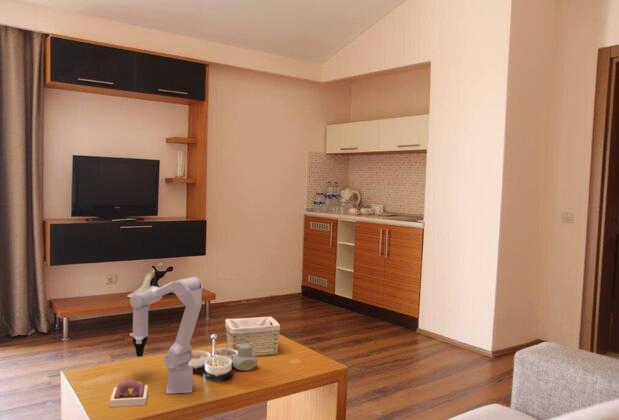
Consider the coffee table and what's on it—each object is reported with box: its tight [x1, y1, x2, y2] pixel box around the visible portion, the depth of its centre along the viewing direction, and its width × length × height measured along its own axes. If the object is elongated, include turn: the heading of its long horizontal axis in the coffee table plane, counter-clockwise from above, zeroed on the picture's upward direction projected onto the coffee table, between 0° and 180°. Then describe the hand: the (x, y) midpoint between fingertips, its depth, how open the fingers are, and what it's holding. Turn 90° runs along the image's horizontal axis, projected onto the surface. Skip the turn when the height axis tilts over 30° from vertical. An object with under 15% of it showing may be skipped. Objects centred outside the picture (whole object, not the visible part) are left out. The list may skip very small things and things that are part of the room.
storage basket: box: [224, 316, 281, 357], centre depth 248 cm, size 24×16×15 cm
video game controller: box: [115, 379, 145, 399], centre depth 194 cm, size 10×5×7 cm, turn 99°
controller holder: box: [109, 384, 149, 408], centre depth 192 cm, size 12×12×2 cm
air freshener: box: [231, 344, 258, 372], centre depth 227 cm, size 11×8×10 cm
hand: (139, 356), depth 211 cm, fingers closed
